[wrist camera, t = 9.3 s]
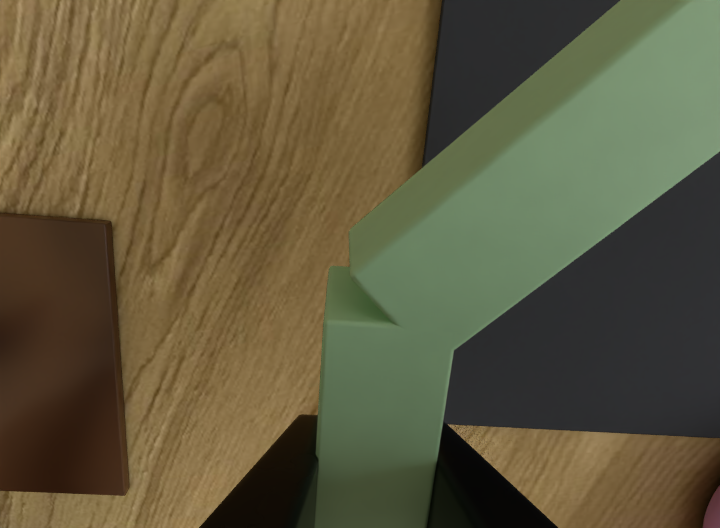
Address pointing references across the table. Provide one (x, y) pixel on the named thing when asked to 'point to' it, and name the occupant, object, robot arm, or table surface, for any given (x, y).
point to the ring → (499, 239)
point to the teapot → (713, 511)
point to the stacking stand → (60, 358)
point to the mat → (584, 267)
